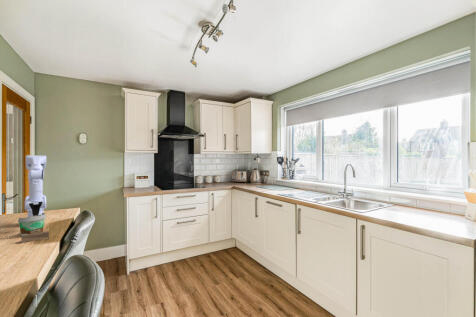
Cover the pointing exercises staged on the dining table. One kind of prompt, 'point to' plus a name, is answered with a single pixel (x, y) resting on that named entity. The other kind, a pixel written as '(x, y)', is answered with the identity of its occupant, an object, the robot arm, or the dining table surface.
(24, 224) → the food container
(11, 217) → the dining table surface
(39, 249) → the dining table surface
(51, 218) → the dining table surface
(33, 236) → the walnut bar
